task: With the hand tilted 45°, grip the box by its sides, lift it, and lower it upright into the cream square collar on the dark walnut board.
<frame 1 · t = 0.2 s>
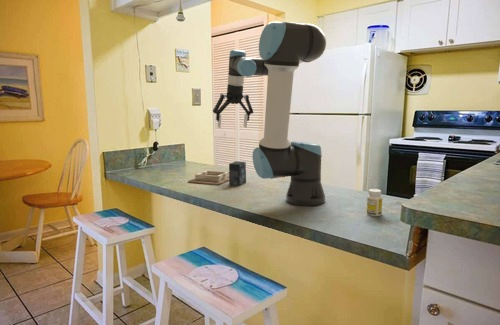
hand: (232, 127, 166), 27 cm above the worktop, tool pointing down, fingers open, 13 cm apart
box: (237, 184, 162), on the worktop
supplement bottle: (374, 214, 114), on the worktop
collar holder: (212, 180, 171), on the worktop
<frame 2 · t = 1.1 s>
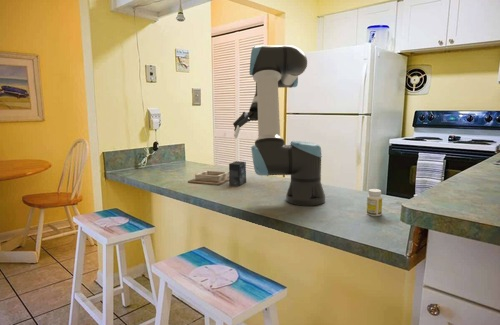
hand: (247, 137, 169), 22 cm above the worktop, tool tilted 45°, fingers open, 13 cm apart
nothing on the worktop moved.
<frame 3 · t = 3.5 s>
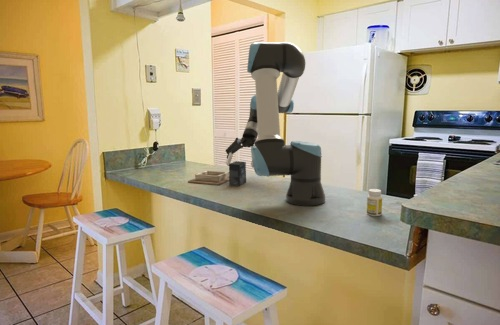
hand: (239, 165, 164), 9 cm above the worktop, tool tilted 45°, fingers open, 13 cm apart
nothing on the worktop moved.
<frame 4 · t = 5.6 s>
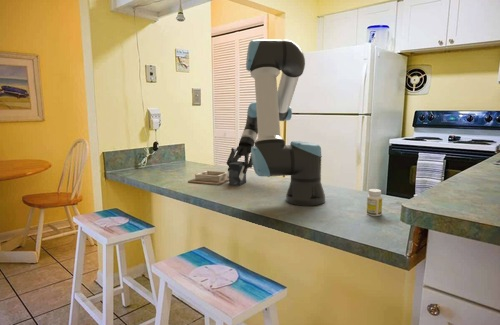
hand: (234, 178, 158), 4 cm above the worktop, tool tilted 45°, fingers closed on box, 6 cm apart
box: (237, 184, 162), on the worktop, touching gripper
everything else where it was.
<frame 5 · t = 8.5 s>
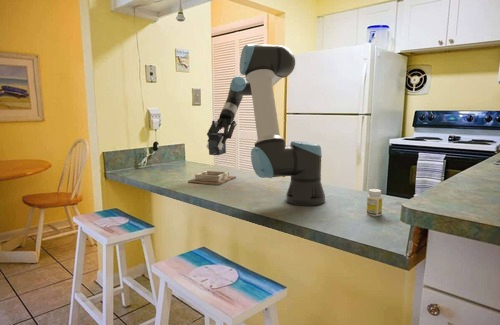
hand: (213, 148, 164), 17 cm above the worktop, tool tilted 45°, fingers closed on box, 6 cm apart
box: (217, 154, 168), point 13 cm above the worktop, touching gripper
everything else where it was.
when the fingers open (6 cm above the worktop, at t = 11.7 s): box drops 1 cm, resting on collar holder.
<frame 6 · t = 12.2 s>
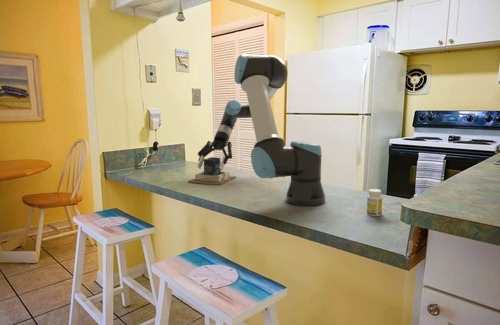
hand: (209, 168, 168), 7 cm above the worktop, tool tilted 45°, fingers open, 12 cm apart
box: (212, 179, 171), point 1 cm above the worktop, touching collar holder
everything else where it was.
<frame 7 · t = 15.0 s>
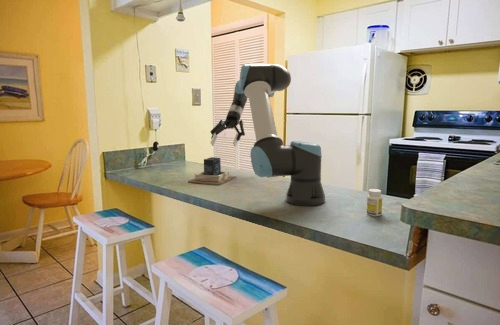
hand: (222, 144, 178), 17 cm above the worktop, tool tilted 45°, fingers open, 13 cm apart
nothing on the worktop moved.
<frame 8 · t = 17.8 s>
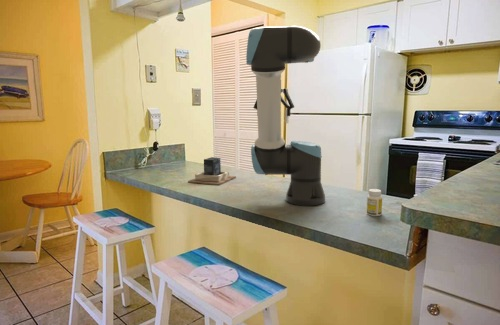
hand: (273, 123, 163), 29 cm above the worktop, tool pointing down, fingers open, 13 cm apart
nothing on the worktop moved.
at the end: box 0.1 cm off-centre on the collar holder, point 0.6 cm above the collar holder's base; box tilted 0°; the gripper is holding nothing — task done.
